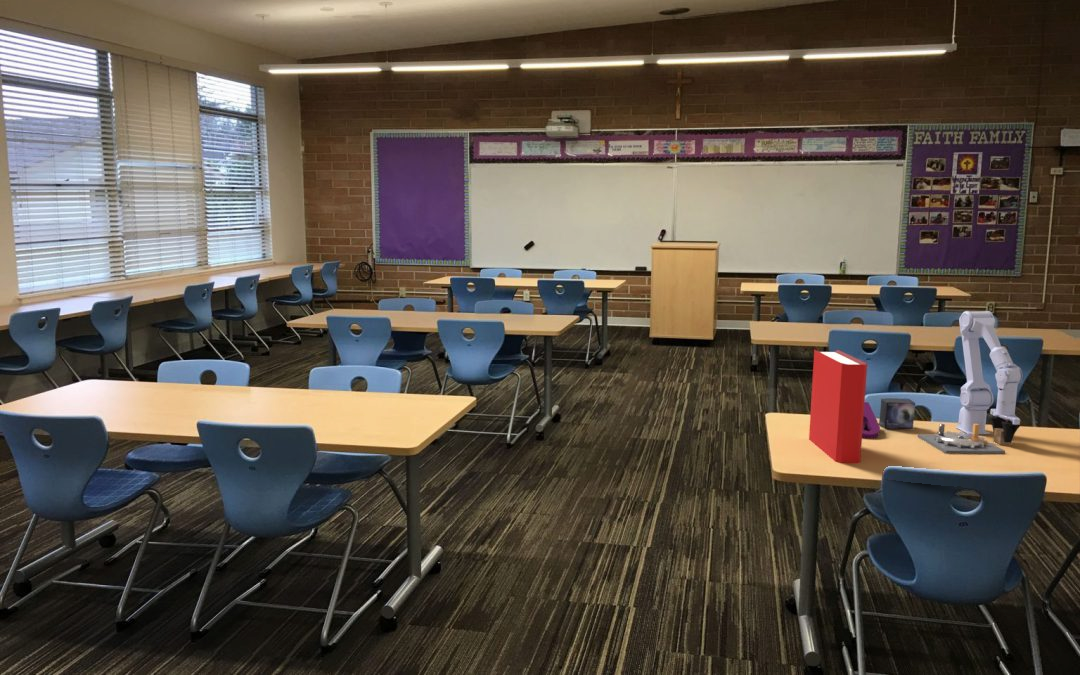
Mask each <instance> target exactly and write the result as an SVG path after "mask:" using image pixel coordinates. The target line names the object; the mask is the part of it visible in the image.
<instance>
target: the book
mask: <svg viewBox="0 0 1080 675" xmlns="http://www.w3.org/2000/svg"><path fill="white" fill-rule="evenodd" d="M812 368H813V369H812V385H811V399H810V400H811V401H810V414H809V416H810V417H809V418H810V419H809V434H808V440H809V441H810V442H811V443H813V444H814V445H815V446H816V447H817V448H819V449H820V450H821V451H822V452H823V453H824V454H825V455H827V456H828V457H829V458H830V459H832V460H833V461H834V462H835V463H839V464H859V463H861V457H862V456H861V455H862V444H863V442H862V441H863V438H862V431H863V417H864V403H865V402H866V401H865V400H866V391H867V390H866V387H867V385H866V384H867V374H868V373H867V372H868V363H866V362H865V361H863V360H861V359H858V358H856V357H854V356H852V355H850V354H848V353H845V352H844V351H841V350H839V349H837V350H835V351H818V350H816V349H814V353H813V366H812Z"/></svg>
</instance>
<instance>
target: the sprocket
mask: <svg viewBox="0 0 1080 675" xmlns="http://www.w3.org/2000/svg"><path fill="white" fill-rule="evenodd" d="M938 426H939V427H938V432H937V434H938V435H937V434H936V433H935V435H934V439H936V441H937V442H942V443H944V445H952V446H957V447H959V448H961V447H969V448H974V447H981V448H983V447H984V445H987V442H988V440H985V438H984V437H982V436H981V437H980V436H978V437H977V436H976V435H974V434H972V435H970V434H967V433H965V432H963V431H960V432H955V431H954V432H951V431H945V426H946V424H944V423H940V424H939V425H938Z"/></svg>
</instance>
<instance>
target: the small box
mask: <svg viewBox="0 0 1080 675" xmlns="http://www.w3.org/2000/svg"><path fill="white" fill-rule="evenodd" d="M880 400H881V401H880V409H879V410H880V411H879V420H878V421H879V422H878V424H879V426H880V428H883V429H884V430H901V429H913V430H914V422H915V421H914V420H915V409H916V402H915V401H912V400H911V399H910V398H893V397H889V398H888V397H886V398H885V397H882V398H881V399H880Z"/></svg>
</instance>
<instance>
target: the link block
mask: <svg viewBox="0 0 1080 675" xmlns="http://www.w3.org/2000/svg"><path fill="white" fill-rule="evenodd" d="M1012 441H1013V440H1012ZM1012 441H1011V442H1004V430H1003V428H995V430H994V433H993V440H992V442H993V443H994V442H995V444H996V443H997V444H996V445H998V444H999V445H998V446H1012Z"/></svg>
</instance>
